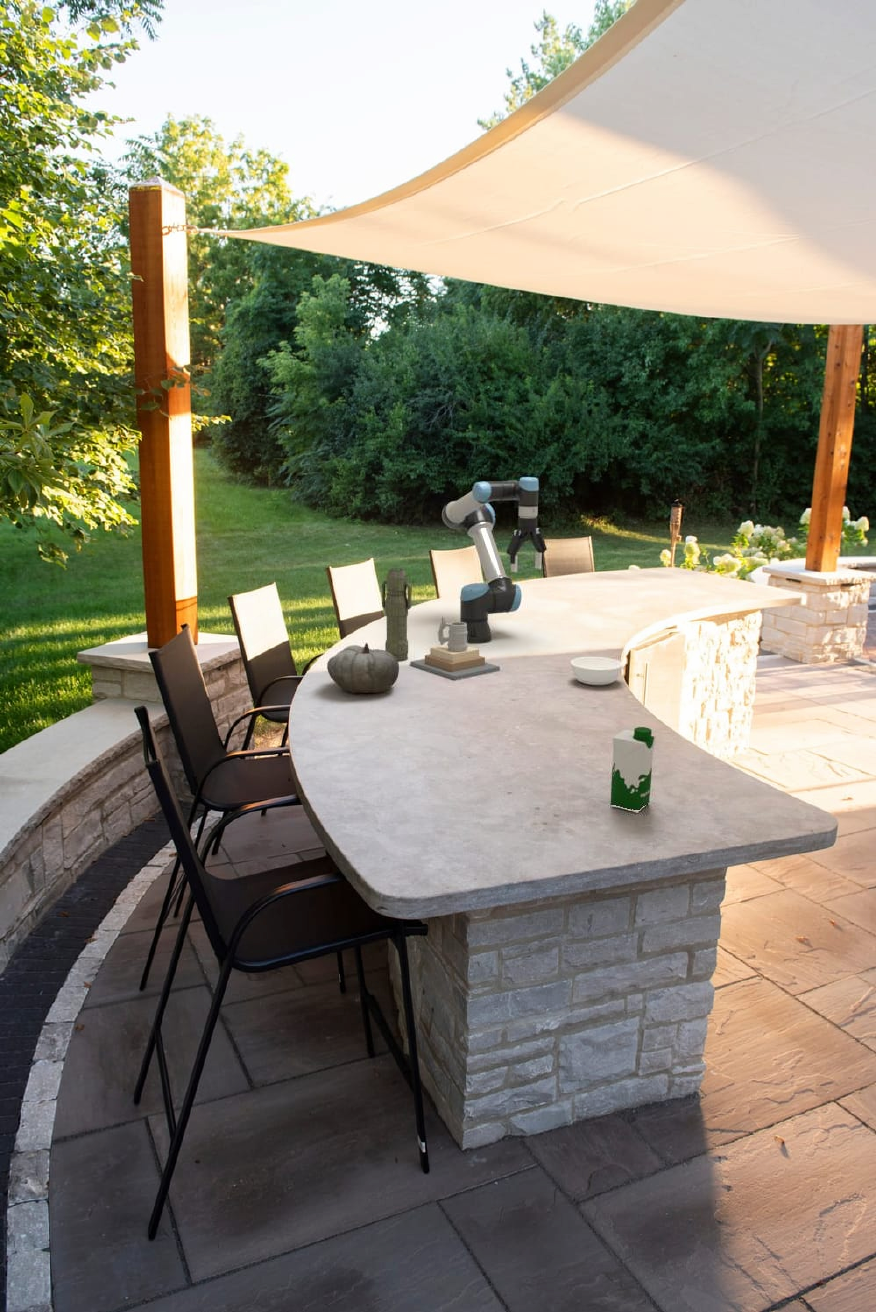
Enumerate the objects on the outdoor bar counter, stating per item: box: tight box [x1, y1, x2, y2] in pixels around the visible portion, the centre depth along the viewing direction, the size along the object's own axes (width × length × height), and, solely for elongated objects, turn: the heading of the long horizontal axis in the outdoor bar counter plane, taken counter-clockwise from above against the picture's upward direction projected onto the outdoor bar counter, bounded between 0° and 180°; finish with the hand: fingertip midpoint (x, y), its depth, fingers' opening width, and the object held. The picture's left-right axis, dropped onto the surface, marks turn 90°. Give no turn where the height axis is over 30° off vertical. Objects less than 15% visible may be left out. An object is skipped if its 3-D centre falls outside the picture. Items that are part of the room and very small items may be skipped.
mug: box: [437, 616, 469, 652], centre depth 349 cm, size 8×12×12 cm, turn 67°
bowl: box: [570, 656, 623, 686], centre depth 335 cm, size 18×18×7 cm
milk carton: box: [610, 726, 656, 810], centre depth 227 cm, size 9×9×20 cm
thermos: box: [381, 568, 413, 663], centre depth 361 cm, size 9×12×35 cm
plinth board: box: [409, 644, 501, 681], centre depth 352 cm, size 26×22×8 cm
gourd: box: [326, 642, 400, 694], centre depth 323 cm, size 25×25×17 cm
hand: (526, 570), depth 378 cm, fingers open, 13 cm apart
